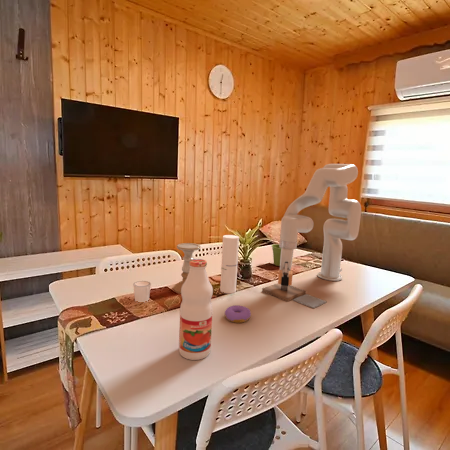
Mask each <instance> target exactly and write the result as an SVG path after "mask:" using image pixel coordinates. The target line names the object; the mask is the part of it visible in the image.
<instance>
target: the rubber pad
mask: <svg viewBox="0 0 450 450" xmlns="http://www.w3.org/2000/svg"><path fill="white" fill-rule="evenodd" d="M292 301H293V302H296V303H298V304H302V305H303V306H307V307H309V308H310V309H316V308H318V307H320V306H322V305H325V304H326V303H327V300H324V299H321V298H318V297H315V296H314V295H313V296H312V295H310V294H307V293H306V294H305V295H302V296H300V297H297V298H295V299H292Z"/></svg>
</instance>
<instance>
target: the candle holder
mask: <svg viewBox="0 0 450 450" xmlns="http://www.w3.org/2000/svg"><path fill="white" fill-rule="evenodd" d="M176 249H178V250H180V251H182V252H183V254H184V256H183V257H182V260H183V264H182V266H181V271H182V273H181V275H180V276H181V277H182V279H181V281H179V282H177V283H175V284H174V285H173V290H174V292H176V293H177V294H178V293H179V294H181V288H182V285H183V284H184V282H185V281H186V279H187V276H188V274H189V271H190V266H189V262H190V260H192V259H195V258H194V256H193V254H194V252H195V251H199V250H200V249H201V245H200V244H197V243H191V242H184V243H178V244H177V245H176Z"/></svg>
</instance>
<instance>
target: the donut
mask: <svg viewBox="0 0 450 450" xmlns="http://www.w3.org/2000/svg"><path fill="white" fill-rule="evenodd" d="M224 316H225V319H227V320H228V321H229V322H231V323H234V324H235V323H237V324H238V323H239V324H240V323H245V322H247V321H248V320H250V318H251V316H252V315H251V310H250V308H248V307H246V306H243V305H230V306H228V307H227V308H226V309H225V311H224Z"/></svg>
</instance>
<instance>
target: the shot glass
mask: <svg viewBox="0 0 450 450" xmlns="http://www.w3.org/2000/svg"><path fill="white" fill-rule="evenodd" d="M132 285H133V286H132V287H133V293H134V302H136V301H138V302H144V303H146V302H145V301H147V302H149V301H150V295H151V294H150V293H151V285H152V283H151V282H150V281H146V280H139V281H136V282H134V283H133V284H132ZM148 300H149V301H148ZM138 302H137V303H138Z"/></svg>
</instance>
